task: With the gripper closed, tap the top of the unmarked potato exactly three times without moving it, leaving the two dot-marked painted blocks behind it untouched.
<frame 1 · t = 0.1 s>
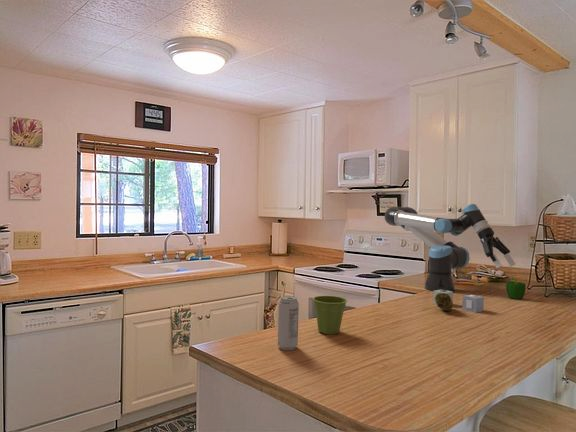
hand: (506, 266, 218), 15 cm above the worktop, tool tilted 35°, fingers open, 13 cm apart
bell pepper: (515, 298, 214), on the worktop
potato: (443, 311, 184), on the worktop
plant pot: (329, 332, 148), on the worktop
energy drink can: (287, 348, 130), on the worktop
slate blue block: (472, 310, 186), on the worktop
sage block: (442, 304, 197), on the worktop
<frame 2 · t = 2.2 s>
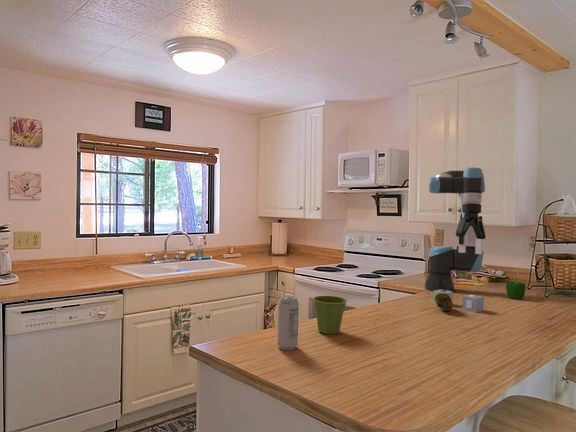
hand: (470, 253, 185), 24 cm above the worktop, tool pointing down, fingers open, 13 cm apart
nothing on the worktop moved.
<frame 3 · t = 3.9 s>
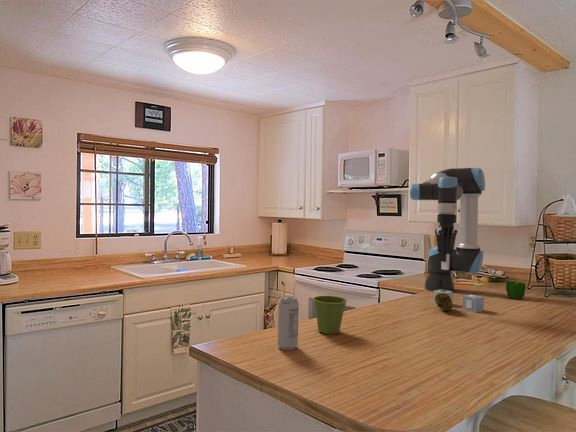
hand: (445, 269, 183), 18 cm above the worktop, tool pointing down, fingers closed
nothing on the worktop moved.
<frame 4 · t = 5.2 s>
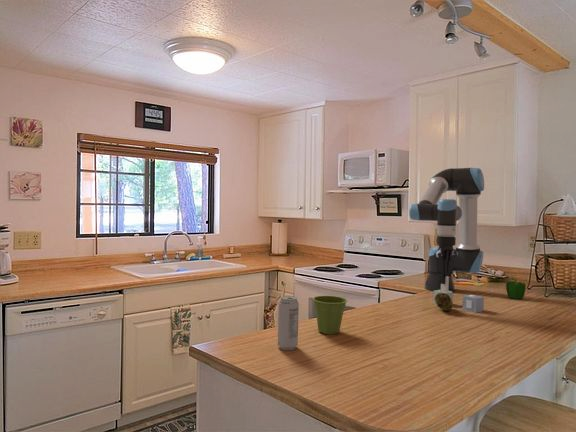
hand: (444, 291, 183), 8 cm above the worktop, tool pointing down, fingers closed
potato: (443, 311, 184), on the worktop, touching gripper
everything else where it was.
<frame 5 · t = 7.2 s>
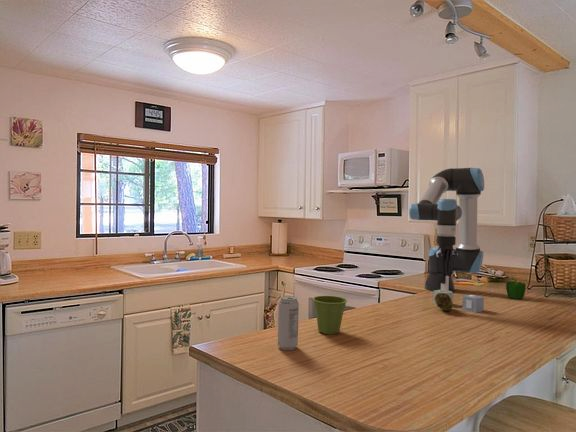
hand: (444, 291, 183), 8 cm above the worktop, tool pointing down, fingers closed
potato: (443, 311, 184), on the worktop
everything else where it was.
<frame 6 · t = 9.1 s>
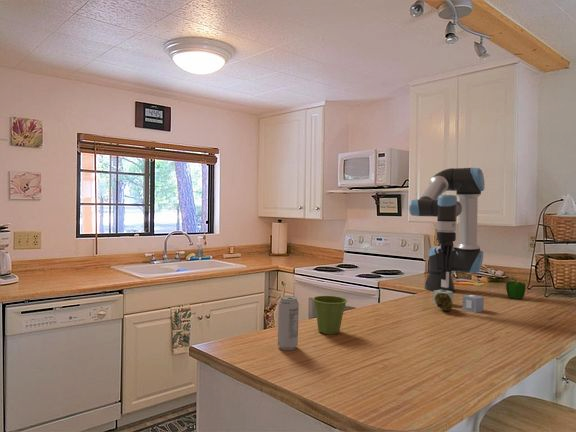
hand: (444, 287, 184), 10 cm above the worktop, tool pointing down, fingers closed
nothing on the worktop moved.
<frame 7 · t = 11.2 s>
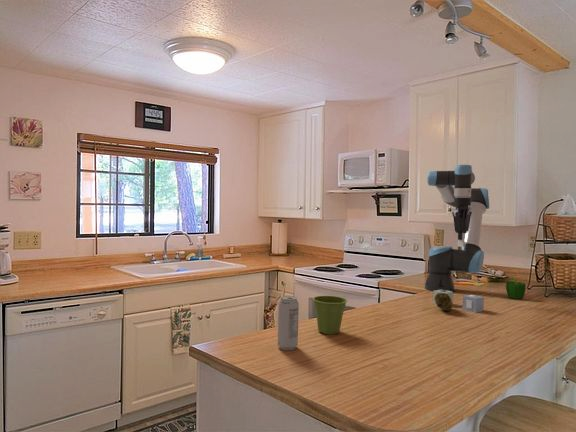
hand: (461, 246, 208), 25 cm above the worktop, tool pointing down, fingers closed
nothing on the worktop moved.
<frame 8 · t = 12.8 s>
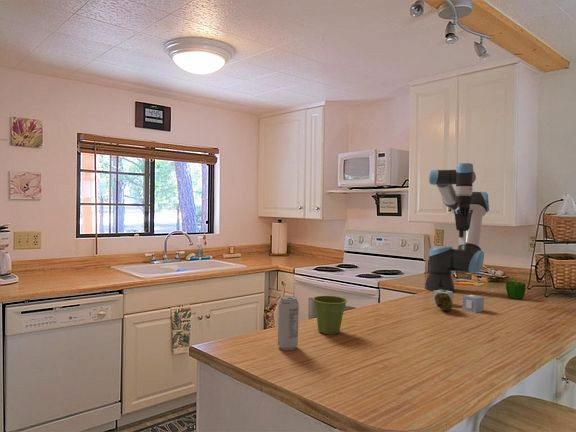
hand: (462, 244, 210), 26 cm above the worktop, tool pointing down, fingers closed
nothing on the worktop moved.
at the end: potato moved 0.3 cm from its start; sage block moved 0.1 cm from its start; slate blue block moved 0.1 cm from its start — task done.
